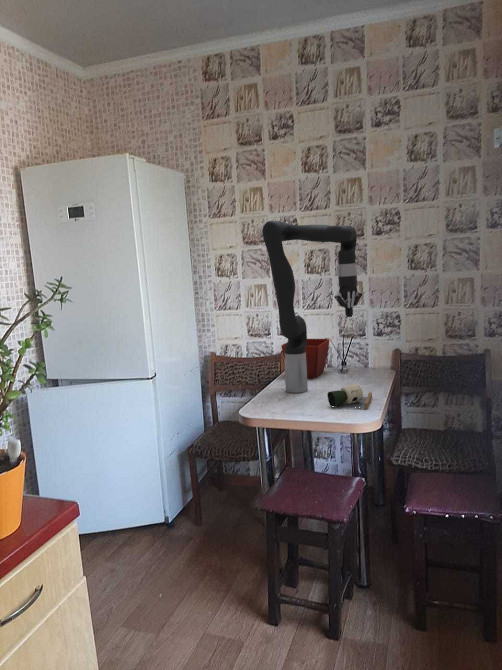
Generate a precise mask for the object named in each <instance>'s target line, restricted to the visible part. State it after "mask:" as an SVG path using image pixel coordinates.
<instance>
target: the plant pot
mask: <svg viewBox="0 0 502 670" xmlns="http://www.w3.org/2000/svg"><path fill="white" fill-rule="evenodd" d="M286 344H287V342H285V343H283V344H281V350H282V354H283V358H284V360H285V346H286ZM329 347H330V339H329V338H307V345H306V366H307V379H316V378H317V377H318V376H321V375H322V374H323V373H324V371H325V367H326V363H327V360H328V354H329Z"/></svg>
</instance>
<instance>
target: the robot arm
mask: <svg viewBox="0 0 502 670" xmlns="http://www.w3.org/2000/svg"><path fill="white" fill-rule="evenodd" d="M262 236H263V237H262V238H263V241H264V245H265V248H266V251H267V254H268V260H269V266H270V269H271V277H272V283H273V287H274V293H275V297H276V298H275V299H276V303H277V309H278V318H279V321H278V322H279V327H280V328H279V329H280V332H281V334H282V336H283V337H284V338H285V339H287V341H286V343H287V344H286V346H285V359H284V362H285V370H284V384H285V392H286V393H292V394H296V393H298V394H299V393H305V392H308V390H309V386H308V385H309V384H308V378H307V366H306V345H307V339H308V330H307V329H308V327H307V323H306V320H305V319H304V318H303V317H302V316H299V315H296V313H295V307H294V303H295V302H294V301H295V294H296V293H295V292H296V279H295V276H294V275H295V274H294V271H293V268H292V266H291V264H290V262H289V260H288V258H287V256H286V254H285V250H284V245H283V242H287V241H294V240H295V241H306V242H312V243H313V242H314V243H315V242H316V243H337V244H340V246H339V247H340V249H339V250H338V253H337V259H338V260H337V261H338V262H337V263H338V266H337V276H338V277H337V278H338V288H339V289H338V290H339V291H338V293H337V295H336V294H335V295H334V299H335V300H336V302H337V303H338V304H339V306H340V307H342V308H344V311H345V312H344V313H345V316H346V317H347V318H352V317H353V315H354V312H353V311H354V310H353V308H354V307H355V306H357V305H358V303H359V301H360V300H361V297H362V296H363V293H362V292H359V291H358V287H357V286H358V273H357V272H358V271H357V268H358V267H357V264H356V263H357V261H356V257H357V256H356V248H357V240H358V237H357V236H358V235H357V230H356V229H355V228H354V226H352V225H347V224H346V225H343V224H341V225H329V224H304V225H303V224H302V225H301V224H298V225H297V224H292V223H287V222H284V221H283V222H282V221H280V220H268V221H266V222H265V223H264V224H263V227H262Z"/></svg>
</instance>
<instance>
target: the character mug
mask: <svg viewBox="0 0 502 670" xmlns="http://www.w3.org/2000/svg"><path fill="white" fill-rule="evenodd" d="M326 395H327V400H328V404H329V406H330V407H331V408H333V407H332V406H334V408H336V407H337V406H339V405H341V404H343V403H344V402H345V403H346V404H351V403H354V402H358V401H361V400H362V399H363V397H364V392H363V389H362V387H361V385H360V384H359V383H352V384H349V385H345V386H342V387H341V388H340V389H339V390H338V389H337V390H333V391H328V392H327V393H326Z"/></svg>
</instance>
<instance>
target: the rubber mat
mask: <svg viewBox="0 0 502 670" xmlns="http://www.w3.org/2000/svg"><path fill="white" fill-rule="evenodd" d="M372 400H373V392H371V391H370V392H368V394H367V396H365V397H364V396H363V399H362V400H361V401H358V402H354V403H351V404H346V403H345V402H344V403H343V404H341V405H339V406H336V407H335V409H336V408H355V407H356V408H359V407H360V408H359V409H358V410H369V408H370V405H371V402H372ZM368 407H369V408H368ZM362 408H363V409H362Z"/></svg>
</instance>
